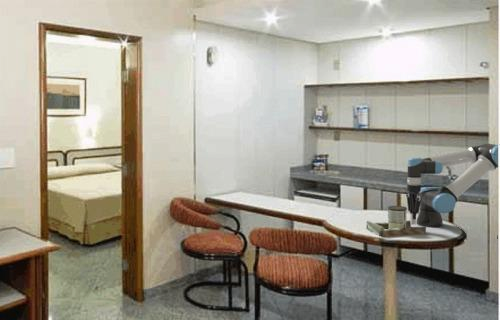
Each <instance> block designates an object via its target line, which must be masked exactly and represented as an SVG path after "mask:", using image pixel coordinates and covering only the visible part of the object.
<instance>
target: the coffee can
mask: <svg viewBox="0 0 500 320" xmlns="http://www.w3.org/2000/svg"><path fill="white" fill-rule="evenodd" d="M387 209H388V210H387V219H388V221H387V223H388V229H393V228H399V229H403V228H407V227H406V221H407V210H408V207H406V206H402V205H389V206H388V207H387Z"/></svg>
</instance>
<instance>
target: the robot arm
mask: <svg viewBox="0 0 500 320" xmlns="http://www.w3.org/2000/svg"><path fill="white" fill-rule="evenodd" d="M466 163H472V165H470V166H469V167H468V168H467V169H465V171H463V172H462V173H461V174H460V175H458V176H457V177H456V178H455V179H454V180H453V181H451V182H450V183H449V184H448V185H443V186H441V187H439V186H438V187H437V186H429V187H428V186H427V187H425V186H423V187H422V185H421V184H422V175H439V174H442V172H443V169H444V168H445V167H451V166H455V165H456V166H457V165H460V164H466ZM406 166H407V181H406V182H407V185H406V187H407V188H406V189H407V190H406V191H408V193H407V194H406V195H405V196H406V197H405V198H406V203H407V210H408V212H409V213H410V214H409V215H410V220H409V221H410V224H411V226H412V225H418V226H421V227H423V226H424V227H430V228H431V227H432V228H433V227H435V228H436V227H442V226H443V224H444V222H443V221H444V220H443V218H442V215H441V214H447V213H451V212H452V211H453V210H454V209H455V207H456V203H458V202H459V197H460V196H461V195H462V194H463V193H465V192H466V191H467V190H468V189H470V187H472V186H473V185H474V184H475V183H476V182H478V181H479V180H480V179H481V178H483V177H484V176H485V175H486V174H487V173H488V172H490V171H491V172H492V171H495V170H496V169H497V168H498V167H499V166H498V144H495V143H494V144H493V143H484V144H480V145H474V146H472V147H471V146H470V147H468V148H467V149H464V150H461V151H455V152H449V153H444V154H440V155H435V156H429V157H426V158H421V157H409V158H408V159H407V165H406ZM417 214H418V215H417Z"/></svg>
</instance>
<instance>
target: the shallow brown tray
mask: <svg viewBox="0 0 500 320" xmlns="http://www.w3.org/2000/svg"><path fill="white" fill-rule="evenodd" d="M384 228H388V222H385V221H383V222H373V221H371V220H366V230H367V229H368V230H367V231H369V230H370V231H369V232H371V231H372V232H371V233H373V232H374V233H376V234H377V235H376V234H375V235H376V236H378V235H379V237H380V236H381V237H391V236H392V237H394V236H405V235H406V236H407V235H409V236H410V235H421V234H423V235H424V234H426V232H427V231H426V230H427V226H413V227H412V225H411V224H410V220H406V228H403V229H399V228H393V229H384ZM374 233H373V234H374Z"/></svg>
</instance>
